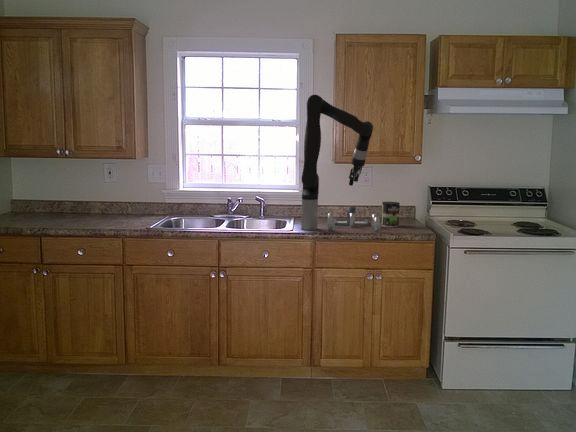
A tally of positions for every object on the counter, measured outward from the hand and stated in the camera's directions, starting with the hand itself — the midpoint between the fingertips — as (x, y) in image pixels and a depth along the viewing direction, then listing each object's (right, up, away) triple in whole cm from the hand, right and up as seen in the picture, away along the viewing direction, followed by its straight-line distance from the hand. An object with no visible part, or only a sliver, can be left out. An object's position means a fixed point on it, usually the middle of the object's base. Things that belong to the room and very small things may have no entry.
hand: (353, 183), depth 315 cm
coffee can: (+24, -25, +13) cm, 37 cm away
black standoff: (+1, -23, +20) cm, 31 cm away
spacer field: (0, -26, +1) cm, 26 cm away
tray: (+1, -23, +20) cm, 31 cm away
